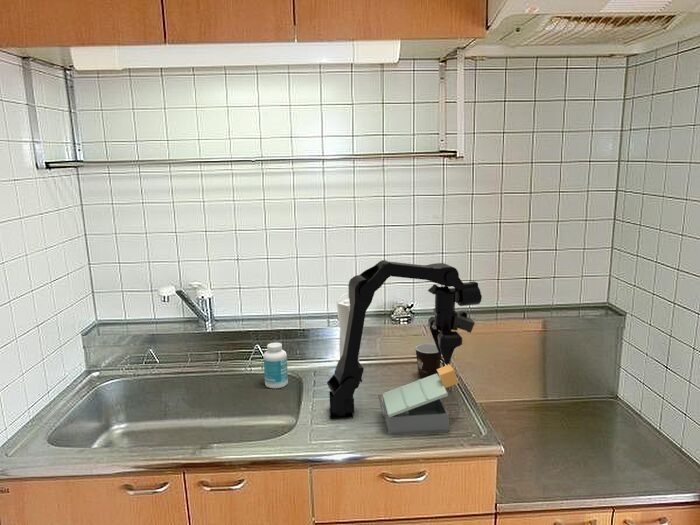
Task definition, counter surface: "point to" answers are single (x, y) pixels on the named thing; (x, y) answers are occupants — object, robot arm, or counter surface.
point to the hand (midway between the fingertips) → (443, 358)
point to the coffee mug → (428, 360)
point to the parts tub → (418, 419)
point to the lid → (420, 391)
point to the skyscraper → (343, 320)
